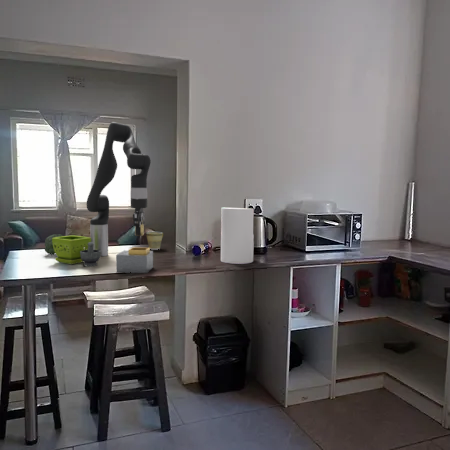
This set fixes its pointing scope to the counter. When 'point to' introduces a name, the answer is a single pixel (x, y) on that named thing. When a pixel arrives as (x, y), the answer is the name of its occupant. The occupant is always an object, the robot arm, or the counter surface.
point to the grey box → (134, 260)
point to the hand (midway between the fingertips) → (139, 234)
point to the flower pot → (70, 248)
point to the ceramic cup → (154, 240)
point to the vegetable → (50, 244)
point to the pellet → (141, 230)
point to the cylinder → (237, 235)
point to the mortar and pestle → (90, 255)
